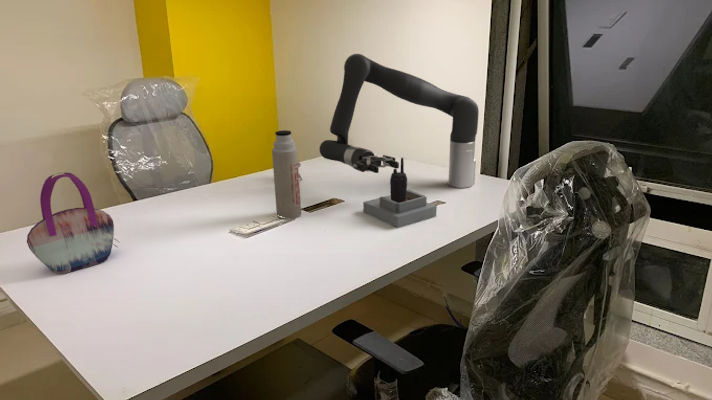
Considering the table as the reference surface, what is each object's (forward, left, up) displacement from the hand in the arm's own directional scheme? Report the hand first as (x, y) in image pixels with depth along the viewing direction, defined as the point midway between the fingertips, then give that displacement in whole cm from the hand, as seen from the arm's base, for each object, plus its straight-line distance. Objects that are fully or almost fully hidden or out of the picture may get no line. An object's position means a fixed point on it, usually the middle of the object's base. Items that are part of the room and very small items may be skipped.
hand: (388, 167), depth 168 cm
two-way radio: (0, +6, -11) cm, 12 cm away
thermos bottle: (+29, -16, -15) cm, 36 cm away
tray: (0, +6, -14) cm, 16 cm away
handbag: (+91, -19, -15) cm, 94 cm away
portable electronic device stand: (+9, -51, -15) cm, 54 cm away
